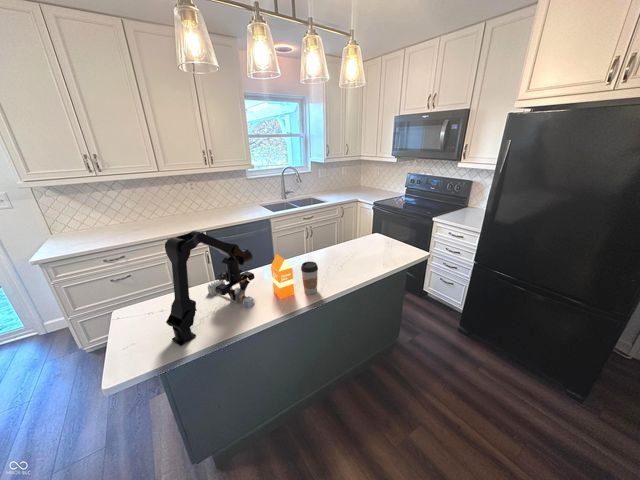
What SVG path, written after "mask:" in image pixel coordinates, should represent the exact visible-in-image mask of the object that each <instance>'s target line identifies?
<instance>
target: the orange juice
mask: <svg viewBox="0 0 640 480" xmlns="http://www.w3.org/2000/svg"><path fill="white" fill-rule="evenodd" d="M270 271H271V281H272V288H273V290H272V291H273V292H274V293H275V294H276V296H278V298H280V300H282V299H284V298H287V297H289V296H290V297H291V296H293V295H295V284H294V272H293V271H294V270H293V267H292V265H290V264H289V262H287V260H286V259H284V258H283V257H282V256H280V255H279V254H276V255H275V258H274V259H273V260H272V263H271V265H270Z"/></svg>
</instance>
